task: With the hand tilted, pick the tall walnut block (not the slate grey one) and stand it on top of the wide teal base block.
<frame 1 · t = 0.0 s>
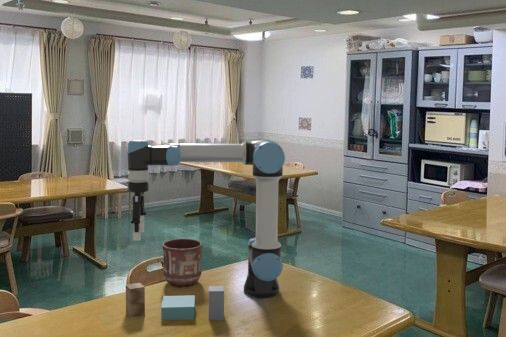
hand: (139, 236, 204), 28 cm above the table, tool pointing down, fingers open, 13 cm apart
slate block: (216, 317, 198), on the table
teal base block: (178, 314, 201), on the table
pottery: (182, 283, 235), on the table
walnut block: (135, 314, 199), on the table
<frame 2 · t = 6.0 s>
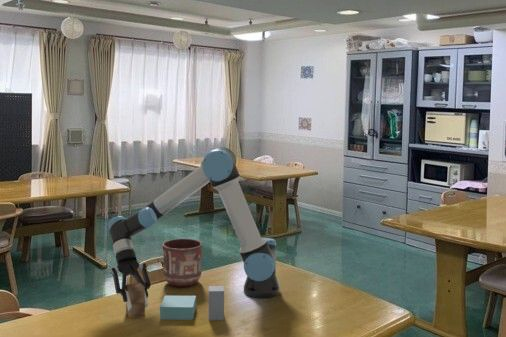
hand: (138, 307, 196), 4 cm above the table, tool tilted 45°, fingers closed on walnut block, 5 cm apart
walnut block: (135, 314, 199), on the table, touching gripper
everything else where it was.
when the fingers open (10 cm above the table, at t = 13.3 s): walnut block drops 2 cm, resting on teal base block.
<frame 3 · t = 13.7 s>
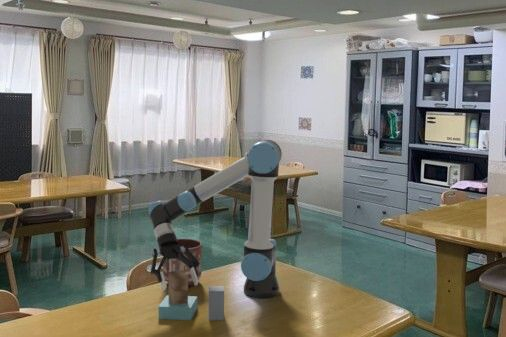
hand: (181, 286, 198), 11 cm above the table, tool tilted 45°, fingers open, 12 cm apart
teal base block: (178, 314, 201), on the table, touching walnut block
walnut block: (178, 301, 200), point 5 cm above the table, touching teal base block
everything else where it was.
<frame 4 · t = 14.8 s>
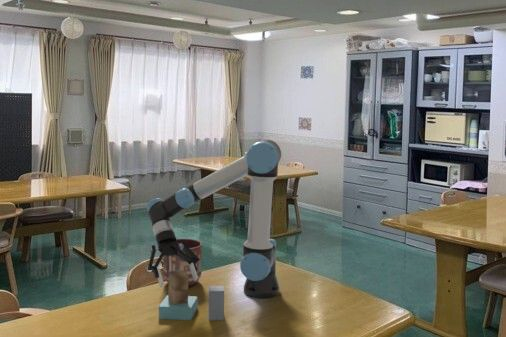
hand: (179, 282, 198), 12 cm above the table, tool tilted 45°, fingers open, 13 cm apart
nothing on the table moved.
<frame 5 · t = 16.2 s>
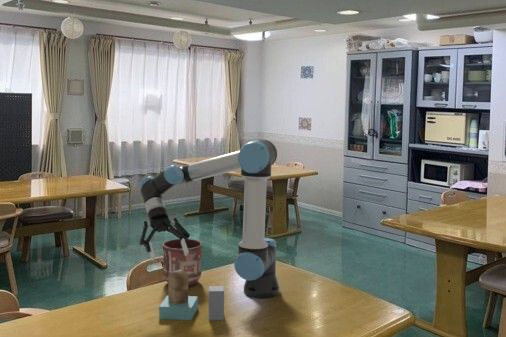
hand: (170, 256, 204), 20 cm above the table, tool tilted 45°, fingers open, 13 cm apart
teal base block: (179, 314, 201), on the table
walnut block: (178, 301, 201), point 5 cm above the table
everything else where it was.
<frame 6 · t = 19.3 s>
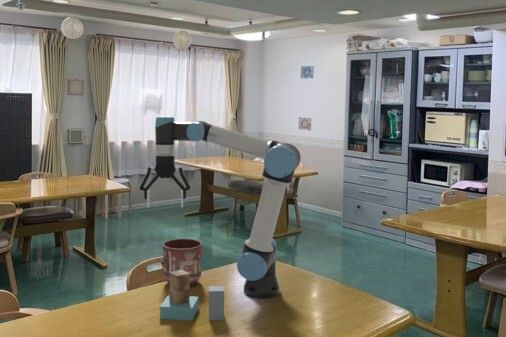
hand: (165, 207, 217), 37 cm above the table, tool pointing down, fingers open, 13 cm apart
teal base block: (179, 314, 201), on the table, touching walnut block
walnut block: (179, 301, 201), point 5 cm above the table, touching teal base block
everything else where it was.
at the end: walnut block inside the target area on the teal base block (0.2 cm from its centre), point 5.0 cm above the teal base block's base; walnut block tilted 1°; the gripper is holding nothing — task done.
